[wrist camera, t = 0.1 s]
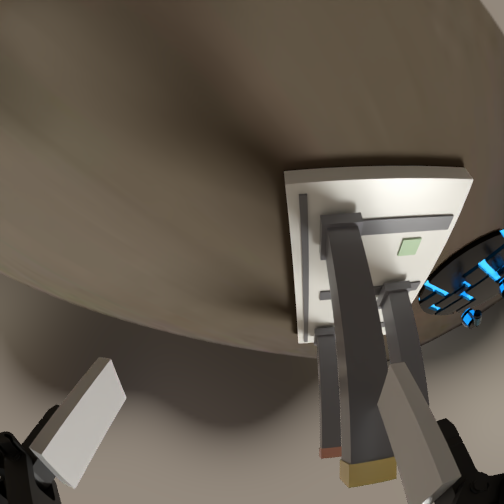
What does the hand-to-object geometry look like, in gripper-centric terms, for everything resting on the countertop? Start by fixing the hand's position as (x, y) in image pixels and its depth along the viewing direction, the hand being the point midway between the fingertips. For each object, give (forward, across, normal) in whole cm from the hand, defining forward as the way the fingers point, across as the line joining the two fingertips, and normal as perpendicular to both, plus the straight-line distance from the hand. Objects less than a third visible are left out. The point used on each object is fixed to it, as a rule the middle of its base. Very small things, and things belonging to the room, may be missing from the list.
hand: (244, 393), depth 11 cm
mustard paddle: (+13, +7, +4) cm, 15 cm away
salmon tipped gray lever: (+26, +8, -14) cm, 30 cm away
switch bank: (+21, +12, -3) cm, 24 cm away
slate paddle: (+19, +15, -4) cm, 25 cm away
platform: (+22, +33, -4) cm, 40 cm away
